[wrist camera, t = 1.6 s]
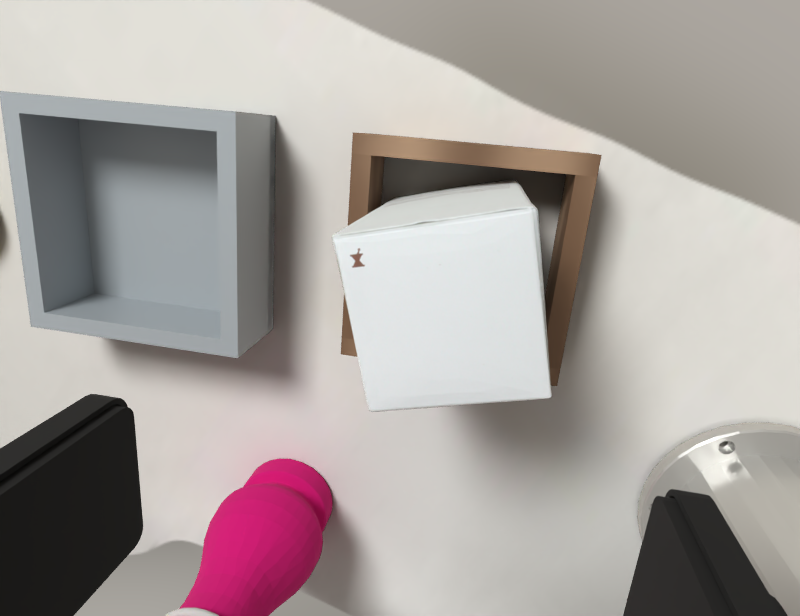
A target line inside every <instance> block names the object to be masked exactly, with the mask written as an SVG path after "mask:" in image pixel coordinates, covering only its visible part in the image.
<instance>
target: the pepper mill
mask: <svg viewBox="0 0 800 616" xmlns="http://www.w3.org/2000/svg"><path fill="white" fill-rule="evenodd" d="M332 504H333V503H332V495H331V492H330V490H329V487H328V485H327V483H326V482H325V480H324V479H323V477H322V476H321V475H319V474H318V473H317V472H316V471H315V470H314V469H313V468H312V467H310V466H308V465H306V464H304V463H302V462H299V461H296V460H292V459H275V460H271V461H268V462H266V463H264V464H262V465H261V466H260V467H258V468H257V469H256V470H255V472H254V473H253V474H252V476H251V477H250V478H249V480H248V481H247V482H246V484H245V485H244V487H243V488H240V489H238V490H236V491H234V492H233V493H232V494H230V495H229V496H228V497H227V498H226V499H225V500H224V501H223V502H222V503H221V505H220V507H219V508H218V510H217V512H216V513H215V515H214V517H213V518H212V520H211V522H210V524H209V527H208V530H207V533H206V537H205V540H204V547H203V555H202V561H201V566H200V571H199V573H198V576H197V579H196V581H195V584H194V586H193V588H192V589H191V591H190V593H189V595H188V597H187V598H186V600H185V602H184V603H183V605H182V606H181V607H180V608H179V609H176V610H174V611H171V612H170V613H168V614H166V615H165V616H269V615H270V614H271V613H272V612H273V611H274V610H275V609H276V608H277V607H279V606H280V605H281V604H282V603H284V602H285V601H286V600H288V599H289V598H290V597H291V596H293V595H294V594H295V593H296V592H297V591H298V590H299V589H300V588H301V586H302V585H303V584H304V583H305V582H306V581H307V579H308V578H309V577H310V575H311V573H312V572H313V570H314V568H315V566H316V564H317V562H318V560H319V558H320V555H321V551H322V544H323V539H322V532H323V530H324V528H325V526H326V524H327V522H328V519H329V517H330V515H331V511H332Z"/></svg>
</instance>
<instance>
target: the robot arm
mask: <svg viewBox="0 0 800 616" xmlns="http://www.w3.org/2000/svg"><path fill="white" fill-rule="evenodd" d="M637 519H638V525H639V532H640V535H641V538H642V540H643V542H642V546H641V549H640V553H639V557H638V561H637V565H636V569H635V572H634V576H633V580H632V584H631V588H630V592H629V595H628V599H627V603H626V607H625V611H624V615H623V616H800V429H798V428H795V427H792V426H787V425H781V424H774V423H740V424H734V425H728V426H722V427H719V428H716V429H713V430H710V431H707V432H703V433H701V434H699V435H697V436H695V437H693V438H691V439H689V440H687V441H685V442H683V443H681V444H680V445H679V446H677V447H676V448H675V449H673V450H672V451H671V452H669V453H668V454H667V455H666V456H665V457H664V458H663V459H662V460H661V461H660V462H659V463H658V464H657V465H656V467H655V468H654V469H653V470H652V472H651V473H650V475H649V477H648V479H647V480H646V482H645V484H644V486H643V489H642V492H641V495H640V498H639V501H638V514H637ZM142 530H143V519H142V507H141V495H140V483H139V471H138V459H137V447H136V435H135V423H134V414H133V411H132V410H131V409H130V408H128V407H127V404H126V402H125V401H124V400H123V399H121V398H115V397H109V396H103V395H97V394H90V395H87V396H85V397H84V398H82V399H80V400H79V401H77V402H75V403H74V404H72V405H71V406H69V407H67V408H66V409H64V410H62V411H61V412H59V413H58V414H56V415H54V416H53V417H51V418H49V419H48V420H46V421H44V422H43V423H41V424H40V425H38V426H36V427H35V428H33V429H31V430H30V431H28V432H27V433H25V434H23V435H22V436H20V437H18V438H17V439H15V440H14V441H12V442H10V443H9V444H7V445H5V446H4V447H2V448H1V449H0V616H74V614H75V613H76V612H77V611H78V610H79V609H80V608H81V607H82V606H83V605H84V603H85V602H86V601H87V600H88V599H89V598H90V597H91V596H92V595H93V593H94V592H95V591H96V590H97V589H98V588H99V587H100V586H101V585H102V583H103V582H104V581H105V580H106V579H107V578H108V577H109V576H110V574H111V573H112V572H113V571H114V570H115V569H116V568H117V567H118V566H119V564H120V563H121V562H122V561H123V560H124V559H125V558H126V557H127V556H128V555H129V553H130V552H131V551H132V550H133V549H134V548H135V546H136V545H137V544H138V542H139V540H140V537H141V535H142Z"/></svg>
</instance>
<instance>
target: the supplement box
mask: <svg viewBox="0 0 800 616" xmlns="http://www.w3.org/2000/svg"><path fill="white" fill-rule="evenodd" d="M332 241H333V245H334V249H335V254H336V258H337V263H338V267H339V272H340V276H341V281H342V286H343V290H344V295H345V299H346V304H347V308H348V313H349V317H350V322H351V327H352V332H353V337H354V342H355V347H356V352H357V356H358V361H359V366H360V371H361V376H362V381H363V386H364V391H365V396H366V400H367V405H368V409H369V411H371V412H379V411H390V410H404V409H418V408H431V407H444V406H457V405H470V404H483V403H496V402H509V401H523V400H535V399H549V398H551V397H552V395H551V381H550V367H549V353H548V339H547V325H546V311H545V297H544V283H543V270H542V256H541V242H540V229H539V217H538V209H537V208H536V207H535V206H534V205H533V204H532V203H531V202H530V200H529V198H528V197H527V195H526V194H525V192H524V190H523V189H522V187H521V186H520V184H519V183H518V182H517V181H516V180H515V179H513V180H505V181H497V182H490V183H483V184H476V185H469V186H462V187H455V188H449V189H443V190H438V191H432V192H426V193H420V194H414V195H409V196H403V197H397V198H393V199H392V200H390V201H389V202H387V203H385V204H384V205H382V206H380V207H379V208H377V209H375V210H374V211H372V212H370V213H369V214H367V215H365V216H364V217H362V218H360V219H359V220H357V221H355V222H354V223H352V224H350V225H348V226H347V227H345V228H343V229H342V230H340V231H339V232H337V233H335V234H334V235H333V236H332Z"/></svg>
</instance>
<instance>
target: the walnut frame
mask: <svg viewBox="0 0 800 616" xmlns="http://www.w3.org/2000/svg"><path fill="white" fill-rule="evenodd" d="M385 157H394V158H404V159H415V160H425V161H436V162H446V163H457V164H467V165H477V166H488V167H498V168H509V169H519V170H530V171H540V172H551V173H561V174H566V178H565V184H564V190H563V196H562V201H561V207H560V213H559V218H558V224H557V230H556V236H555V241H554V247H553V253H552V259H551V264H550V270H549V276H548V281H547V287H546V293H545V311H546V325H547V339H548V353H549V367H550V381H551V385H552V386H557V383H558V378H559V373H560V368H561V363H562V357H563V352H564V347H565V342H566V337H567V331H568V326H569V321H570V316H571V311H572V305H573V300H574V295H575V290H576V285H577V279H578V274H579V269H580V264H581V259H582V253H583V248H584V243H585V238H586V233H587V227H588V222H589V217H590V212H591V207H592V201H593V196H594V191H595V186H596V181H597V175H598V170H599V165H600V160H601V155H597V154H590V153H580V152H569V151H558V150H546V149H535V148H524V147H513V146H502V145H491V144H480V143H469V142H457V141H446V140H435V139H424V138H413V137H402V136H391V135H380V134H368V133H353V142H352V160H351V178H350V197H349V215H348V225H350V224H352V223H354V222H355V221H357V220H359V219H360V218H362V217H364V216H365V215H367V214H369V213H370V212H372V211H374V210H375V209H377V208H379V207H380V206H381V200H382V187H383V173H384V159H385ZM341 354H343V355H350V356H356V357H358V356H357V352H356V347H355V342H354V337H353V332H352V327H351V322H350V317H349V313H348V308H347V304H346V299H345V295H344V307H343V325H342V343H341Z"/></svg>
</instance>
